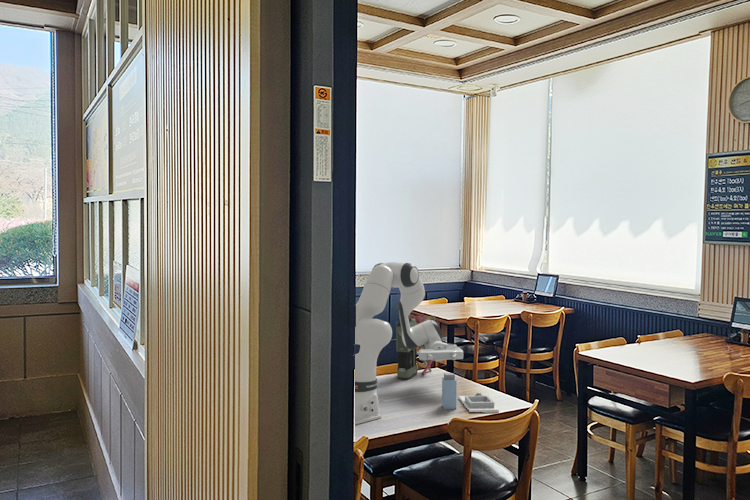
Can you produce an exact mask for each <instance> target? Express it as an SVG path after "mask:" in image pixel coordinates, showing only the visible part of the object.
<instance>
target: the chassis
mask: <svg viewBox="0 0 750 500" xmlns="http://www.w3.org/2000/svg"><path fill="white" fill-rule="evenodd" d="M458 400H459V401H460V402H461V403H462V404H464V405H463V406H464V408H465V409H466V408H467V409H468V410H469V411H468V410H467V409H466V410H467V411H468V413H469V412H485V414H493V413H497V414H498V413H500V410H499V408H498V407H497V405H495V402H494V401H493V400H492V399H491V397H490V396H489V395H483V394H482V393H481V392H476V393H475V394H474V395H458Z"/></svg>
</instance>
